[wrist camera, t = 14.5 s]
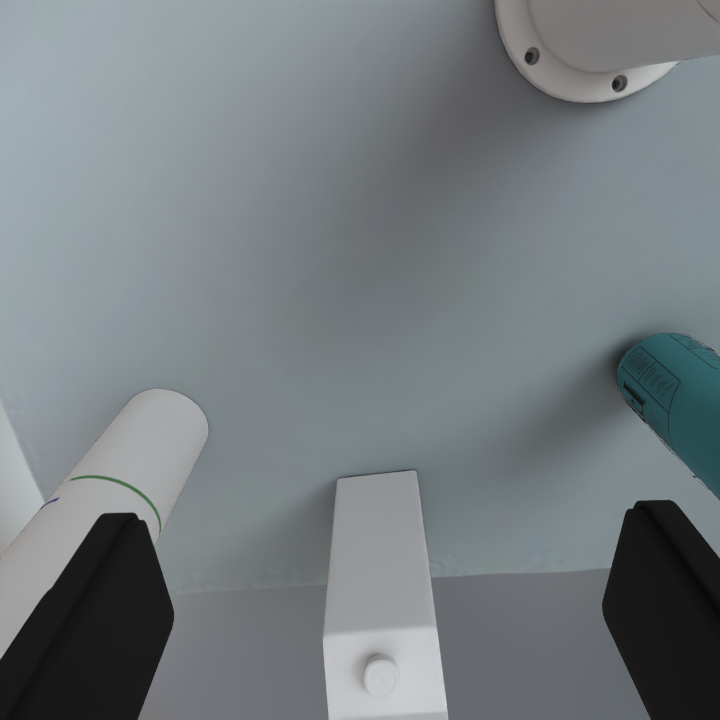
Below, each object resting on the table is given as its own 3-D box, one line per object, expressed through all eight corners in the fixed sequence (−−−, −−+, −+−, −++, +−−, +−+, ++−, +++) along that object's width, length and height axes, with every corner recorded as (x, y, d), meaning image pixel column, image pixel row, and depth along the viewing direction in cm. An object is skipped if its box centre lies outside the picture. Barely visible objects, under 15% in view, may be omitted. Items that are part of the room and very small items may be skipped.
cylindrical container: (105, 414, 42) (-200, 765, 19) (168, 373, 40) (-90, 711, 17) (164, 471, 44) (-45, 837, 22) (225, 435, 42) (65, 797, 20)
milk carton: (424, 527, 47) (454, 764, 30) (349, 534, 47) (338, 771, 30) (416, 468, 44) (445, 696, 27) (336, 477, 44) (315, 705, 27)
